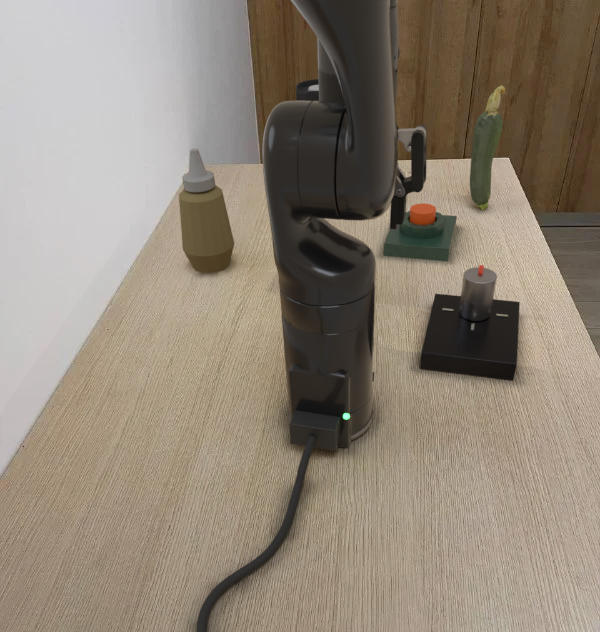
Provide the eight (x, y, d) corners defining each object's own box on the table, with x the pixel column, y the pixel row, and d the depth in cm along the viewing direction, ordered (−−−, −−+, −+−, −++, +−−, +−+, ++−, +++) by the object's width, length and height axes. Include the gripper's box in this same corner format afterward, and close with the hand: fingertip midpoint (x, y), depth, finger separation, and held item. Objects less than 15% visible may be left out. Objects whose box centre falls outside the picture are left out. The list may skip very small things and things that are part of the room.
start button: (433, 227, 100) (434, 214, 98) (407, 225, 101) (408, 212, 99) (436, 216, 103) (437, 204, 101) (411, 214, 104) (412, 202, 102)
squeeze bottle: (243, 271, 99) (229, 153, 88) (193, 282, 97) (172, 163, 86) (228, 249, 105) (213, 136, 94) (180, 260, 103) (159, 146, 92)
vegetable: (463, 211, 112) (478, 88, 99) (466, 201, 115) (480, 81, 102) (489, 213, 111) (507, 89, 98) (491, 203, 114) (509, 81, 101)
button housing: (447, 261, 98) (450, 237, 96) (383, 256, 101) (384, 232, 98) (455, 228, 107) (458, 205, 105) (396, 223, 109) (397, 201, 107)
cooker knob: (489, 322, 80) (496, 282, 77) (457, 319, 81) (462, 279, 78) (491, 306, 83) (498, 266, 80) (460, 303, 84) (465, 263, 81)
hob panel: (513, 381, 75) (517, 362, 74) (419, 369, 78) (421, 351, 76) (516, 317, 86) (520, 300, 84) (433, 308, 88) (435, 291, 87)
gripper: (274, 70, 59) (285, 233, 70) (428, 73, 56) (416, 244, 66) (296, 52, 65) (303, 205, 75) (438, 53, 61) (425, 214, 72)
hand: (356, 223), depth 71 cm, fingers open, 8 cm apart
